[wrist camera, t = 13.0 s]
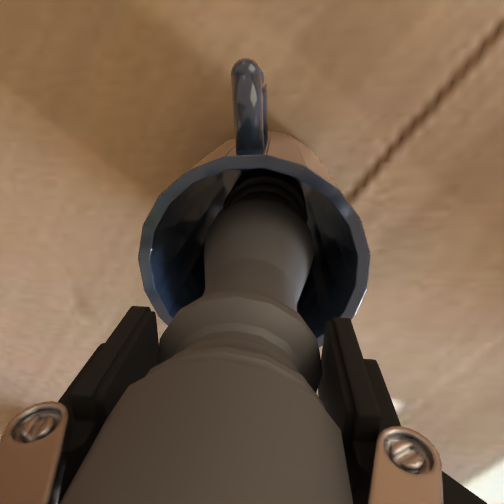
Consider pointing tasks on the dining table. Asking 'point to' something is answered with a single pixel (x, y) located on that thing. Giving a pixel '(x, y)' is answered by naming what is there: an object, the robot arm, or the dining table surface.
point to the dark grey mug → (212, 202)
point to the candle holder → (230, 378)
